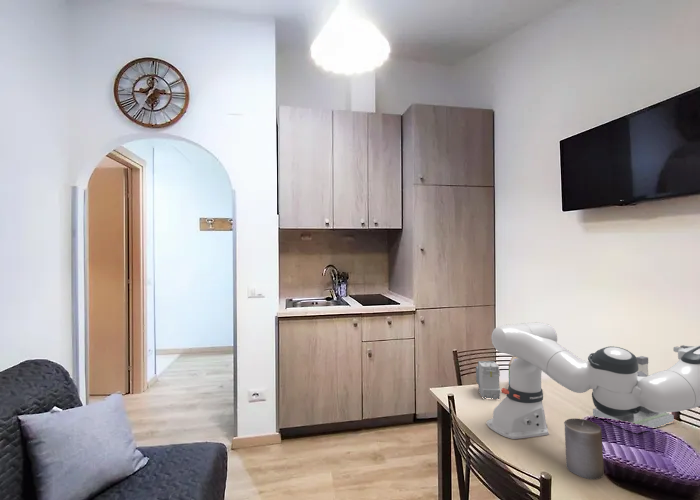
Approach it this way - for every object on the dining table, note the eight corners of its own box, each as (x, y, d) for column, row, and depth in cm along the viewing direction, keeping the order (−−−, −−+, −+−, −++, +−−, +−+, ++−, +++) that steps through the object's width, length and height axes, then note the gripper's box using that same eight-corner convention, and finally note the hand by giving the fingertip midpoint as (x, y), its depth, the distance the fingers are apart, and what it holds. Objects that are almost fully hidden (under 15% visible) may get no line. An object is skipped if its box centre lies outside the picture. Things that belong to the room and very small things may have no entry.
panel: (636, 434, 131) (636, 421, 132) (593, 416, 146) (592, 404, 146) (673, 422, 139) (673, 410, 140) (628, 406, 154) (628, 395, 154)
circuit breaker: (491, 388, 179) (490, 357, 179) (500, 399, 165) (499, 366, 165) (475, 388, 180) (474, 357, 180) (483, 399, 166) (482, 366, 166)
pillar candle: (596, 463, 115) (593, 415, 115) (609, 481, 105) (607, 429, 106) (561, 459, 117) (559, 413, 118) (571, 478, 108) (569, 427, 108)
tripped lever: (643, 404, 144) (642, 358, 144) (637, 402, 146) (636, 357, 146) (649, 402, 145) (648, 357, 145) (643, 400, 147) (642, 356, 147)
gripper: (710, 371, 118) (660, 360, 131) (744, 363, 125) (694, 353, 138) (709, 352, 118) (660, 342, 131) (743, 345, 125) (693, 336, 138)
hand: (678, 348), depth 134 cm, fingers open, 3 cm apart
